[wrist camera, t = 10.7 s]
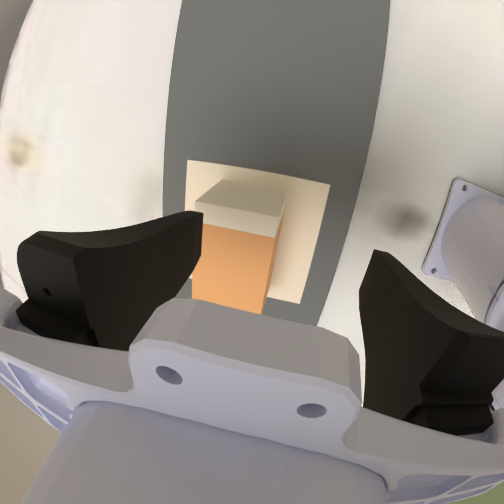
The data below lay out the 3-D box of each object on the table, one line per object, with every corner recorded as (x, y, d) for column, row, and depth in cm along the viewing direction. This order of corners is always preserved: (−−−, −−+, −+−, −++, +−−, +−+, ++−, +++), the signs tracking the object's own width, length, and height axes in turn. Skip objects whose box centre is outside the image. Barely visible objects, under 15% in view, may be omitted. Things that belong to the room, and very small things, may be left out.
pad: (330, 184, 19) (330, 185, 19) (299, 302, 24) (299, 303, 23) (188, 159, 20) (187, 159, 20) (184, 275, 25) (183, 276, 25)
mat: (390, -44, 10) (391, -47, 9) (314, 328, 25) (314, 332, 25) (200, -61, 11) (197, -64, 11) (167, 293, 27) (165, 296, 26)
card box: (269, 287, 23) (257, 329, 19) (214, 274, 24) (191, 312, 20) (287, 191, 19) (278, 217, 15) (222, 179, 20) (195, 201, 16)
